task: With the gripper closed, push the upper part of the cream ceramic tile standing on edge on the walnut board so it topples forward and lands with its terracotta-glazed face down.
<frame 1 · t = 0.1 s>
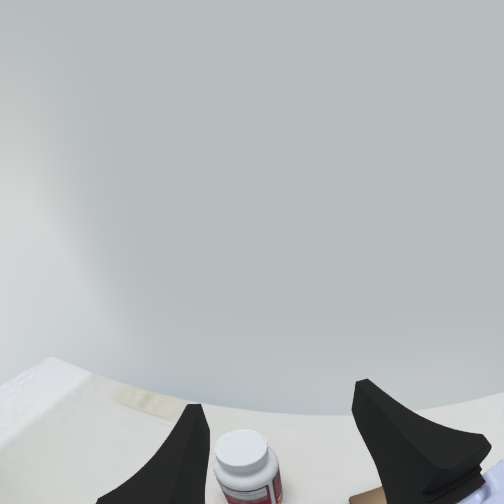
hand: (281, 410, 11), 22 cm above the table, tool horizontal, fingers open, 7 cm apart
pill bottle: (255, 498, 22), on the table
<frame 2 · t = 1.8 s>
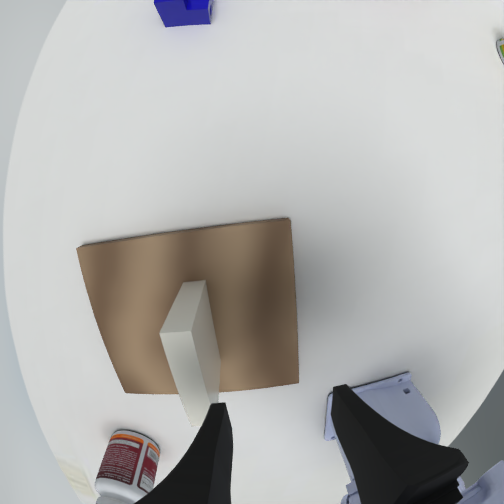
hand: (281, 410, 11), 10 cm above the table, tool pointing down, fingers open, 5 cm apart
pill bottle: (136, 442, 26), on the table
board: (191, 319, 21), on the table
tile: (202, 324, 20), point 1 cm above the table, touching board
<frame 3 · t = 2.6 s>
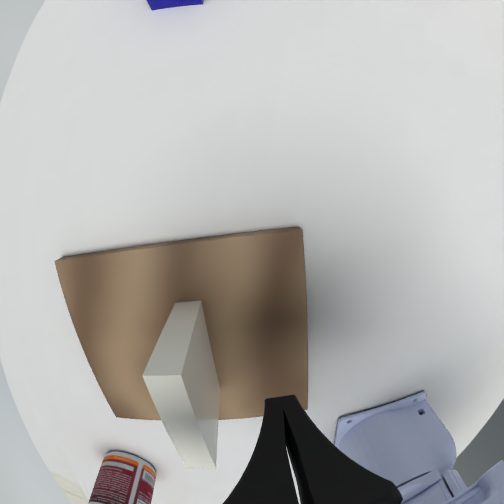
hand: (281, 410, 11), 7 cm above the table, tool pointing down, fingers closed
pill bottle: (131, 463, 22), on the table
board: (186, 343, 18), on the table
tile: (199, 350, 17), point 1 cm above the table, touching board
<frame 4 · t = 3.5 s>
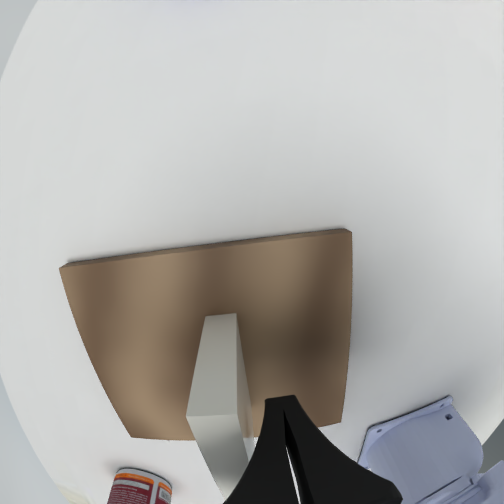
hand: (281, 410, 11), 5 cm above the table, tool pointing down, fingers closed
pill bottle: (144, 479, 20), on the table
board: (214, 359, 16), on the table
tile: (230, 367, 15), point 1 cm above the table, touching board, gripper
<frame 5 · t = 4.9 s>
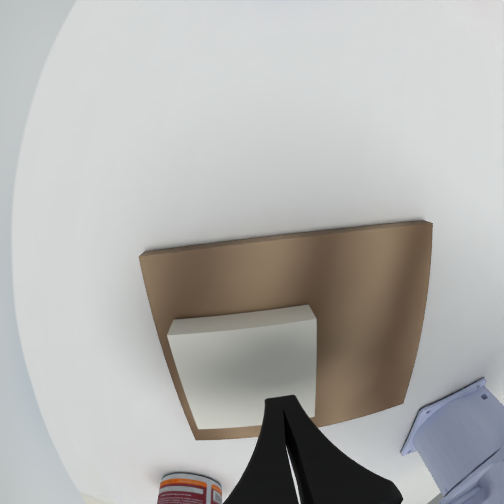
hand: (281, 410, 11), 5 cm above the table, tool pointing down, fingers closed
pill bottle: (191, 483, 20), on the table
board: (302, 348, 16), on the table
tile: (312, 366, 14), point 2 cm above the table, tilted 90°, touching board
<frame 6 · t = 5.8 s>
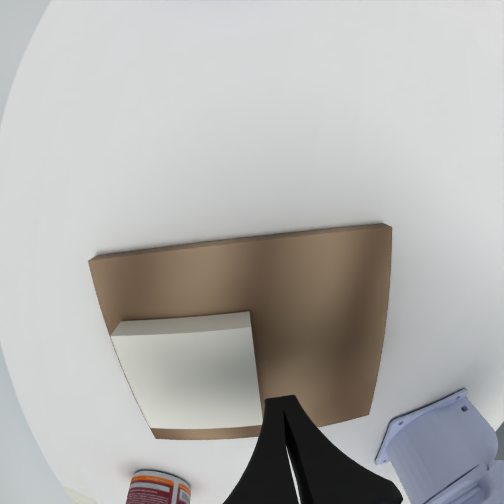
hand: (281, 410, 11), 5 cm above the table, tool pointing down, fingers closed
pill bottle: (162, 481, 20), on the table
board: (252, 354, 16), on the table
tile: (257, 374, 14), point 2 cm above the table, tilted 90°, touching board
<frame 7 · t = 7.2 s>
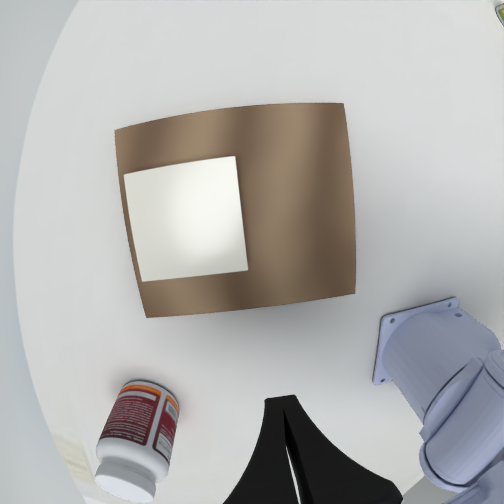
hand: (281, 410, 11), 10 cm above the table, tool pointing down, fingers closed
pill bottle: (150, 400, 24), on the table
board: (239, 209, 19), on the table
tile: (241, 212, 17), point 2 cm above the table, tilted 90°, touching board
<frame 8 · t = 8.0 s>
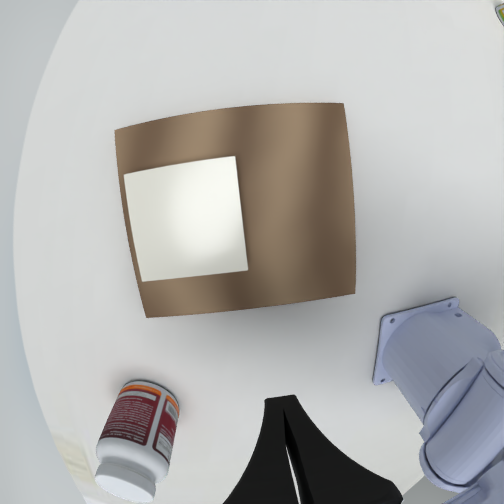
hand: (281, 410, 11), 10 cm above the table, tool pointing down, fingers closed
pill bottle: (150, 400, 24), on the table
board: (239, 209, 19), on the table
tile: (241, 212, 17), point 2 cm above the table, tilted 90°, touching board
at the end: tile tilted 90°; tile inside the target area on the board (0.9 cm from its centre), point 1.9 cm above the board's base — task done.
